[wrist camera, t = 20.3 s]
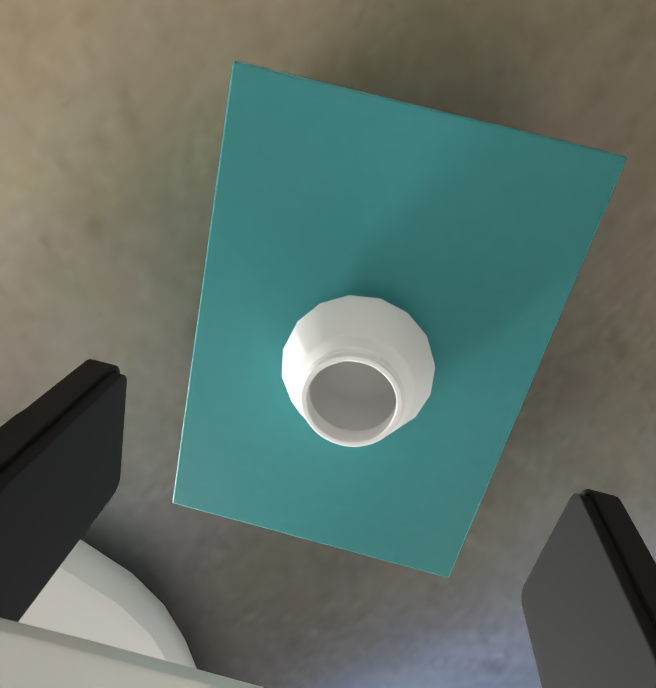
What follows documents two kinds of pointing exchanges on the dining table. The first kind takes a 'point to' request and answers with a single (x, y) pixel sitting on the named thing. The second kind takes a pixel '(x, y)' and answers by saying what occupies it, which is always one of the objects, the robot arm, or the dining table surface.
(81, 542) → the plate
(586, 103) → the dining table surface
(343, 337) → the white jar
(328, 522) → the lunchbox lid
